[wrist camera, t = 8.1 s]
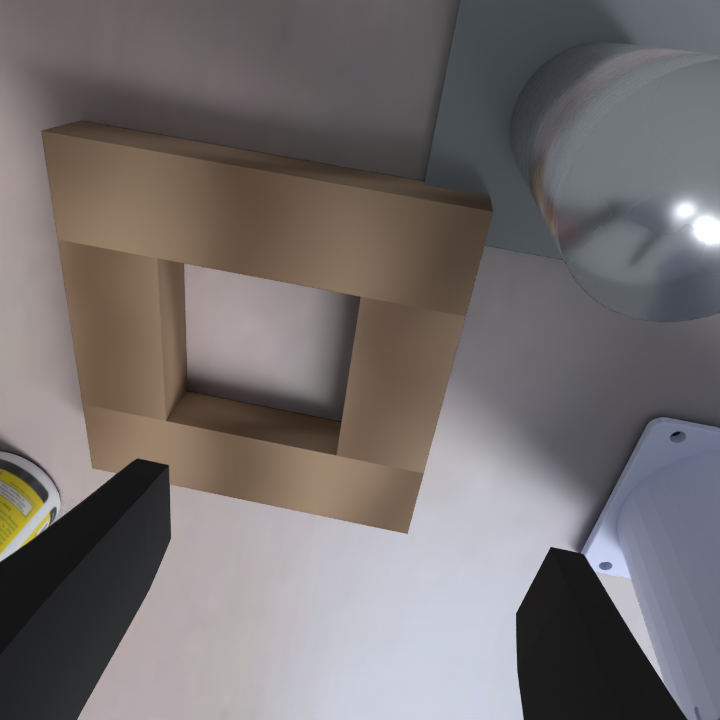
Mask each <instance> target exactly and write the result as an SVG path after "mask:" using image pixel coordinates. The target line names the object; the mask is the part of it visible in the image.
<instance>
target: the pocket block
mask: <svg viewBox="0 0 720 720" xmlns="http://www.w3.org/2000/svg"><path fill="white" fill-rule="evenodd" d="M41 132H42V139H43V145H44V152H45V158H46V165H47V172H48V178H49V185H50V191H51V198H52V205H53V211H54V218H55V224H56V231H57V238H58V244H59V251H60V257H61V264H62V271H63V277H64V284H65V291H66V297H67V304H68V310H69V317H70V324H71V330H72V337H73V343H74V350H75V357H76V363H77V370H78V376H79V383H80V390H81V396H82V403H83V409H84V416H85V423H86V429H87V436H88V442H89V449H90V456H91V462H92V468H94V469H99V470H104V471H108V472H113V473H118V472H120V471H121V470H122V469H123V468H124V467H126V466H127V465H128V464H129V463H131V462H132V461H134V460H135V459H137V458H139V459H143V460H148V461H153V462H157V463H162V464H167V465H169V481H170V484H171V485H176V486H180V487H185V488H190V489H195V490H200V491H204V492H209V493H214V494H219V495H224V496H228V497H233V498H238V499H243V500H248V501H252V502H257V503H262V504H267V505H272V506H276V507H281V508H286V509H291V510H296V511H300V512H305V513H310V514H315V515H320V516H324V517H329V518H334V519H339V520H344V521H348V522H353V523H358V524H363V525H368V526H372V527H377V528H382V529H387V530H392V531H396V532H401V533H406V534H408V530H409V526H410V522H411V519H412V515H413V511H414V507H415V504H416V500H417V496H418V492H419V489H420V485H421V481H422V477H423V474H424V470H425V466H426V462H427V459H428V455H429V451H430V447H431V444H432V440H433V436H434V432H435V429H436V425H437V421H438V417H439V414H440V410H441V406H442V402H443V399H444V395H445V391H446V387H447V384H448V380H449V376H450V372H451V369H452V365H453V361H454V357H455V354H456V350H457V346H458V343H459V339H460V335H461V331H462V328H463V324H464V320H465V316H466V313H467V309H468V305H469V301H470V298H471V294H472V290H473V286H474V283H475V279H476V275H477V271H478V268H479V264H480V260H481V256H482V253H483V249H484V245H485V241H486V238H487V234H488V230H489V226H490V223H491V219H492V215H493V208H492V203H491V198H490V197H489V196H484V195H478V194H472V193H467V192H461V191H456V190H450V189H444V188H439V187H433V186H427V185H424V182H423V181H418V180H412V179H406V178H401V177H395V176H389V175H384V174H378V173H373V172H367V171H361V170H356V169H350V168H344V167H339V166H333V165H327V164H322V163H316V162H311V161H305V160H299V159H294V158H288V157H282V156H277V155H271V154H265V153H260V152H254V151H248V150H243V149H237V148H232V147H226V146H220V145H215V144H209V143H203V142H198V141H192V140H186V139H181V138H175V137H170V136H164V135H158V134H153V133H147V132H141V131H136V130H130V129H124V128H119V127H113V126H107V125H102V124H96V123H91V122H85V121H78V122H74V123H70V124H66V125H63V126H59V127H55V128H51V129H47V130H43V131H41ZM184 263H185V264H190V265H196V266H201V267H206V268H212V269H217V270H222V271H228V272H233V273H238V274H243V275H249V276H254V277H259V278H265V279H270V280H275V281H281V282H286V283H291V284H297V285H302V286H307V287H312V288H318V289H323V290H328V291H334V292H339V293H344V294H350V295H355V296H360V297H361V298H360V305H359V311H358V318H357V324H356V331H355V338H354V344H353V351H352V357H351V364H350V370H349V377H348V383H347V390H346V396H345V403H344V409H343V416H342V422H338V421H333V420H328V419H323V418H318V417H313V416H308V415H303V414H298V413H293V412H288V411H283V410H278V409H273V408H268V407H263V406H258V405H253V404H248V403H243V402H238V401H233V400H228V399H223V398H218V397H213V396H208V395H203V394H198V393H193V392H188V391H187V357H186V323H185V288H184Z"/></svg>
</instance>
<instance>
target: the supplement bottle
mask: <svg viewBox="0 0 720 720" xmlns="http://www.w3.org/2000/svg"><path fill="white" fill-rule="evenodd" d="M60 505H61V503H60V496H59V493H58V491H57V489H56V487H55V485H54V484H53V482H52V481H51V479H50V478H49V477H48V476H47V475H46V473H45V472H43V471H42V470H41V469H40V468H39V467H38V466H36V465H35V464H33V463H32V462H30V461H28V460H26V459H24V458H22V457H20V456H17V455H15V454H11V453H7V452H0V562H1V561H2V560H4V559H5V558H6V557H8V556H9V555H11V554H12V553H14V552H15V551H17V550H18V549H19V548H21V547H22V546H24V545H25V544H26V543H28V542H29V541H31V540H32V539H33V538H35V537H36V536H37V535H39V534H40V533H41V532H43V531H44V530H45V529H47V528H48V527H49V526H50V524H51V523H52V522H53V520H54V519H55V518H56V516H57V515H58V513H59V510H60Z"/></svg>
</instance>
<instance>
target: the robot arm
mask: <svg viewBox="0 0 720 720" xmlns="http://www.w3.org/2000/svg"><path fill="white" fill-rule="evenodd" d="M677 431H682V432H681V433H680V434H679V435H677V436H671V435H672V434H673V433H674V432H677ZM170 539H171V522H170V481H169V465H167V464H162V463H157V462H153V461H148V460H143V459H139V458H137V459H135V460H134V461H132V462H131V463H129V464H128V465H127V466H126V467H124V468H123V469H122V470H121V471H120V472H118V473H117V474H116V475H115V476H113V477H112V478H111V479H110V480H108V481H107V482H106V483H105V484H103V485H102V486H101V487H100V488H98V489H97V490H96V491H95V492H93V493H92V494H91V495H90V496H88V497H87V498H86V499H85V500H83V501H82V502H81V503H79V504H78V505H77V506H76V507H74V508H73V509H72V510H71V511H69V512H68V513H67V514H65V515H64V516H63V517H61V518H60V519H59V520H57V521H56V522H55V523H53V524H52V525H51V526H49V527H48V528H47V529H45V530H44V531H43V532H41V533H40V534H39V535H37V536H36V537H35V538H33V539H32V540H31V541H29V542H28V543H26V544H25V545H24V546H22V547H21V548H19V549H18V550H17V551H15V552H14V553H12V554H11V555H9V556H8V557H6V558H5V559H4V560H2V561H1V562H0V720H77V719H78V717H79V715H80V713H81V711H82V709H83V707H84V706H85V704H86V702H87V700H88V698H89V697H90V695H91V693H92V691H93V690H94V688H95V686H96V684H97V682H98V681H99V679H100V677H101V675H102V674H103V672H104V670H105V668H106V667H107V665H108V663H109V661H110V659H111V658H112V656H113V654H114V652H115V651H116V649H117V647H118V645H119V643H120V642H121V640H122V638H123V636H124V635H125V633H126V631H127V629H128V627H129V626H130V624H131V622H132V620H133V618H134V617H135V615H136V613H137V611H138V609H139V608H140V606H141V604H142V602H143V600H144V599H145V597H146V595H147V593H148V591H149V589H150V587H151V585H152V582H153V580H154V578H155V575H156V573H157V571H158V568H159V566H160V564H161V561H162V559H163V556H164V554H165V552H166V549H167V547H168V544H169V542H170ZM604 562H605V563H604ZM594 571H595V572H600V573H605V574H609V575H614V576H619V577H624V578H629V579H631V580H632V583H633V586H634V589H635V593H636V596H637V599H638V602H639V605H640V608H641V611H642V614H643V618H644V621H645V624H646V627H647V630H648V633H649V636H650V639H651V642H652V646H653V649H654V652H655V655H656V658H657V661H658V664H659V667H660V670H661V674H662V677H663V680H664V683H665V685H664V683H663V682H662V680H661V679H660V677H659V676H658V674H657V673H656V671H655V669H654V668H653V666H652V665H651V663H650V662H649V660H648V659H647V657H646V655H645V654H644V652H643V651H642V649H641V648H640V646H639V644H638V643H637V641H636V640H635V638H634V636H633V635H632V633H631V631H630V630H629V628H628V626H627V625H626V623H625V622H624V620H623V618H622V617H621V615H620V613H619V612H618V610H617V608H616V607H615V605H614V603H613V602H612V600H611V598H610V597H609V595H608V593H607V592H606V590H605V588H604V587H603V585H602V583H601V582H600V580H599V578H598V577H597V575H596V573H595V572H594ZM516 641H517V671H518V679H519V687H520V694H521V702H522V709H523V716H524V720H720V428H718V427H713V426H708V425H703V424H697V423H692V422H687V421H682V420H677V419H672V418H666V417H660V418H656V419H654V420H652V421H650V422H649V423H648V425H647V426H646V428H645V430H644V432H643V434H642V436H641V438H640V440H639V441H638V443H637V445H636V447H635V449H634V451H633V453H632V455H631V457H630V459H629V461H628V463H627V465H626V467H625V468H624V470H623V472H622V474H621V476H620V478H619V480H618V482H617V484H616V486H615V488H614V490H613V492H612V494H611V495H610V497H609V499H608V501H607V503H606V505H605V507H604V509H603V511H602V513H601V515H600V517H599V519H598V521H597V523H596V524H595V526H594V528H593V530H592V532H591V534H590V536H589V538H588V540H587V542H586V544H585V546H584V548H583V550H582V551H581V553H577V552H572V551H567V550H563V549H558V548H553V547H551V548H550V550H549V552H548V553H547V555H546V557H545V559H544V561H543V563H542V565H541V567H540V569H539V571H538V573H537V575H536V576H535V578H534V580H533V582H532V584H531V586H530V588H529V590H528V592H527V594H526V596H525V598H524V600H523V601H522V603H521V605H520V607H519V609H518V611H517V613H516ZM665 686H666V687H665Z"/></svg>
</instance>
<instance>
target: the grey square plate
mask: <svg viewBox="0 0 720 720" xmlns="http://www.w3.org/2000/svg"><path fill="white" fill-rule="evenodd" d="M599 41H601V42H614V43H622V44H631V45H640V46H648V47H657V48H665V49H674V50H683V51H691V52H700V53H708V54H717V55H720V0H460V3H459V9H458V14H457V19H456V24H455V29H454V34H453V39H452V44H451V49H450V54H449V60H448V65H447V70H446V75H445V80H444V85H443V90H442V95H441V100H440V106H439V111H438V116H437V121H436V126H435V131H434V136H433V141H432V146H431V151H430V157H429V162H428V167H427V172H426V177H425V182H424V185H427V186H433V187H439V188H444V189H450V190H456V191H461V192H467V193H472V194H478V195H484V196H489V197H490V198H491V203H492V208H493V215H492V219H491V223H490V226H489V230H488V234H487V238H486V241H485V245H484V246H490V247H495V248H501V249H506V250H512V251H517V252H523V253H528V254H534V255H539V256H545V257H550V258H556V259H561V260H564V259H563V257H562V255H561V253H560V251H559V249H558V247H557V245H556V243H555V241H554V239H553V237H552V235H551V233H550V231H549V229H548V227H547V224H546V222H545V220H544V218H543V216H542V214H541V212H540V210H539V208H538V206H537V204H536V202H535V200H534V198H533V196H532V194H531V192H530V190H529V188H528V186H527V184H526V182H525V180H524V178H523V176H522V174H521V172H520V170H519V168H518V166H517V164H516V162H515V159H514V156H513V153H512V149H511V143H510V124H511V118H512V114H513V110H514V107H515V104H516V102H517V99H518V97H519V95H520V93H521V91H522V89H523V88H524V86H525V84H526V83H527V82H528V80H529V79H530V78H531V76H532V75H533V74H534V73H535V72H536V71H537V70H538V69H539V68H540V67H541V66H542V65H543V64H544V63H545V62H547V61H548V60H549V59H551V58H552V57H554V56H555V55H557V54H558V53H560V52H562V51H564V50H566V49H568V48H571V47H574V46H576V45H579V44H584V43H588V42H599Z"/></svg>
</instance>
